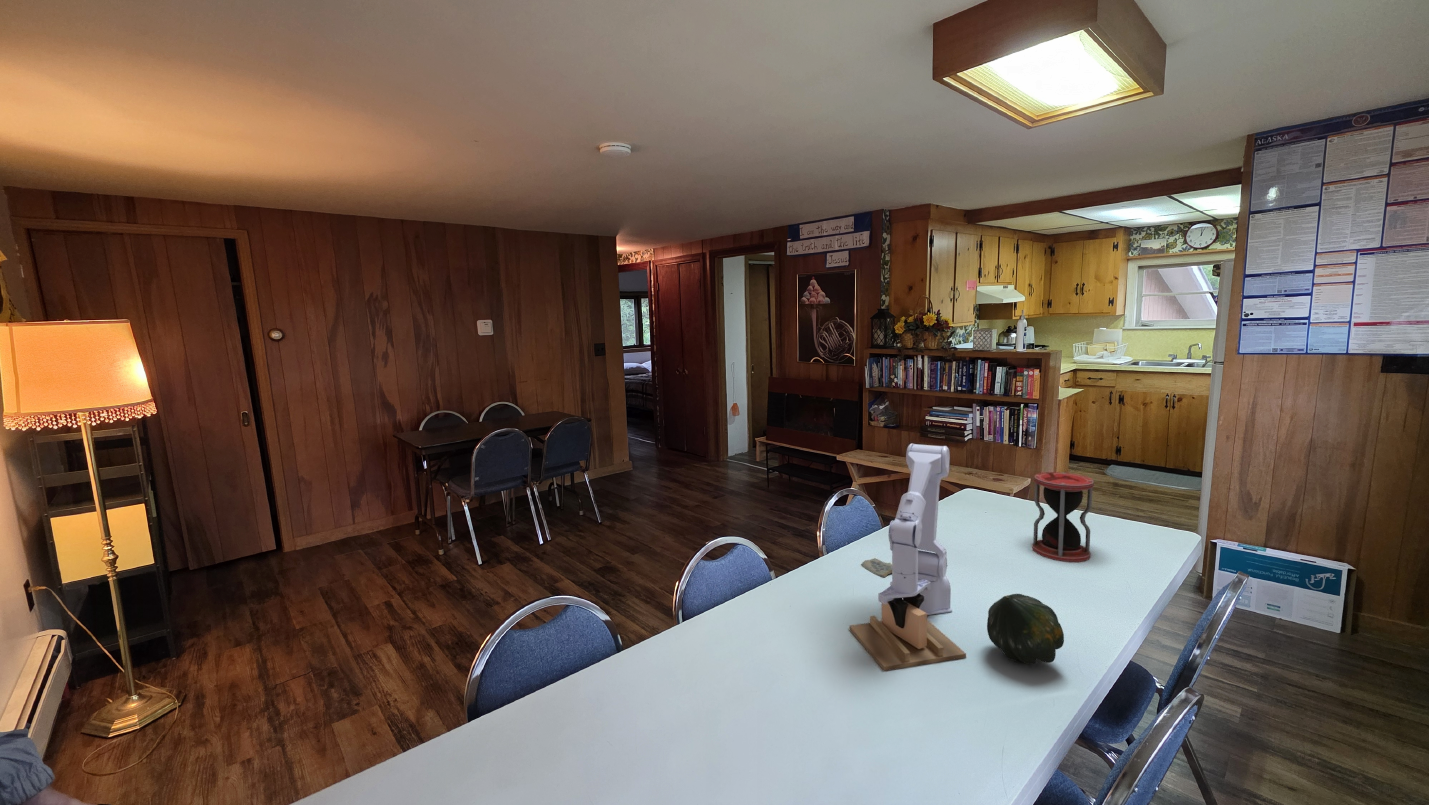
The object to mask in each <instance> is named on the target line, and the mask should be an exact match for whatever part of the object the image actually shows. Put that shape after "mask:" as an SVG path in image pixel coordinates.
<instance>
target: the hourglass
mask: <svg viewBox="0 0 1429 805" xmlns="http://www.w3.org/2000/svg"><path fill="white" fill-rule="evenodd" d="M1033 477H1034V479H1033V480H1034V482H1035V484H1034V504H1035V506H1036V507H1037V508H1038V511H1039V515H1038V518H1036V519H1035V521H1034V522H1033V538H1032V539H1033V541H1032V543H1031V548H1032V551H1033V552H1035V553H1036V554H1037V555H1039V556H1041V557H1043V558H1046V559H1049V560H1053V561H1058V562H1063V563H1069V564H1070V563H1073V564H1074V563H1076V564H1077V563H1079V564H1080V563H1083V562H1087V561H1090V559H1091V554H1092V553H1091V551H1090V548H1091V547H1090V546H1091V528H1090V526H1088V524H1087V523H1086V516H1087V515H1088V514H1089V512H1091V509H1092V505H1093V504H1092V503H1093V502H1092V501H1093V500H1092V499H1093V488H1094V486H1095V482H1094V480H1093V479H1092V478H1090V477H1088V476H1084V475H1082V474H1075V473H1069V472H1059V471H1057V472H1056V471H1055V472H1054V471H1053V472H1049V471H1048V472H1040V473H1036V474H1034V476H1033ZM1040 486H1041V487H1043V491H1042V492H1043V499H1044V502H1046V504H1047V506H1048V507H1049V508H1050V509H1051V510H1052V511H1053V512H1054V513H1055V514H1056V517H1053V519H1052V520H1050V521H1049V522H1048V523H1047V524H1046V525H1045V526H1044V527H1043V529H1042V532H1041V539H1038V530H1039V523H1040V522H1041V521H1042V520H1043V519H1044V517H1045V510H1044V509H1045V508H1043V506H1041V504H1040ZM1085 490H1086V491H1087V498H1086V500H1087V501H1086V508H1085V509H1084V510H1083V511H1082V512H1081V514H1080V516H1079V521H1080V524H1081V525H1082V526H1083V527H1084V529H1085V543H1084V544H1085V546H1083V545H1081V544H1082V537H1081V533H1080V531H1079V529H1078V528H1077V527H1076V526H1075V524H1074V523H1073V522H1072V521H1071V520H1070V519H1069V518H1068V517H1067V516H1069V515H1070V514H1071V513H1072V512H1074V511H1075V510H1076V509H1078V508H1079V507H1080V505H1081V504H1082V502H1083V499H1084V491H1085Z"/></svg>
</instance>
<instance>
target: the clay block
mask: <svg viewBox="0 0 1429 805" xmlns="http://www.w3.org/2000/svg"><path fill="white" fill-rule="evenodd" d="M904 602H905V601H904ZM906 603H907V602H906ZM908 604H909V603H908ZM927 620H928V615H927V613H926V612H924V611H922V610H920V609H918V608H916V607H915V606H913V605H911V604H909V605H908V607H907V610H906V615H905V625H904V628H900V627H898V626H897V625H896V623H895V619H894V616H893V613H892V610H891V608H890V606H889V604H888V602H887V604H883V603H881V621H882V624H883V625H884V626H885V627H886V628H887V629H888V630H889V631H891V632H892V633H894V634H895V635H897V636H899V637H900V638H902V639H903V640H905V641H907V642H908V643H910V644H911V645H913V646H915V647H916V648H918V649H920V648H923V647H926V646H927Z"/></svg>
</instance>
